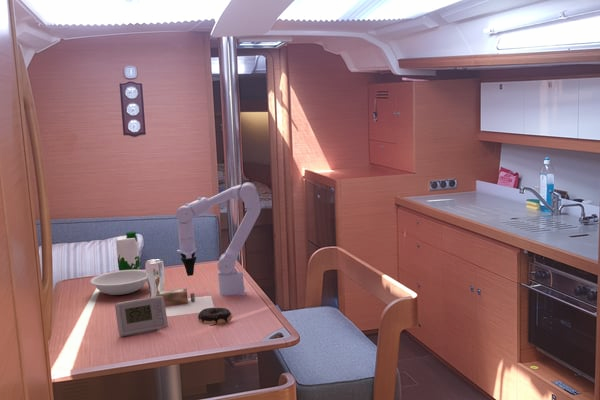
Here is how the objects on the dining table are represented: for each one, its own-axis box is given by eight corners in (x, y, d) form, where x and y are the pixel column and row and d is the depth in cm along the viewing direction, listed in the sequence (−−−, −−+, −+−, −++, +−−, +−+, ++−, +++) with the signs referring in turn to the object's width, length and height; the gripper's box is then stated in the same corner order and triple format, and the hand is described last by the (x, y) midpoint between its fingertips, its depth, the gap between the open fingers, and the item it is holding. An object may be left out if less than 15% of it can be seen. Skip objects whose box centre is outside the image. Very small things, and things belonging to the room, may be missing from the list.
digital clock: (117, 338, 221) (113, 306, 220) (119, 329, 230) (115, 299, 228) (168, 332, 224) (165, 300, 222) (168, 323, 233) (165, 293, 231)
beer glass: (162, 302, 259) (158, 263, 257) (145, 302, 260) (141, 263, 258) (169, 296, 266) (166, 258, 263) (152, 296, 267) (149, 259, 265)
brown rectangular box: (187, 300, 256) (186, 288, 255) (188, 303, 251) (186, 291, 250) (157, 303, 254) (156, 291, 253) (157, 307, 249) (156, 295, 248)
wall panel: (211, 298, 260) (210, 287, 259) (215, 313, 240) (214, 302, 240) (152, 305, 256) (151, 294, 255) (151, 321, 236) (150, 310, 236)
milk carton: (139, 279, 296) (135, 233, 293) (118, 281, 295) (113, 235, 292) (142, 274, 304) (137, 230, 302) (121, 276, 304) (116, 232, 301)
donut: (204, 329, 225) (203, 317, 224) (194, 320, 235) (193, 308, 235) (236, 322, 229) (235, 311, 229) (224, 313, 240) (224, 302, 239)
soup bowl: (149, 281, 291) (148, 266, 290) (156, 295, 268) (154, 279, 267) (90, 290, 284) (89, 274, 283) (92, 305, 261) (90, 288, 260)
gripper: (175, 235, 264) (178, 269, 266) (176, 242, 250) (179, 278, 252) (193, 233, 266) (197, 267, 268) (195, 240, 251) (199, 276, 253)
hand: (189, 273), depth 260 cm, fingers open, 7 cm apart
